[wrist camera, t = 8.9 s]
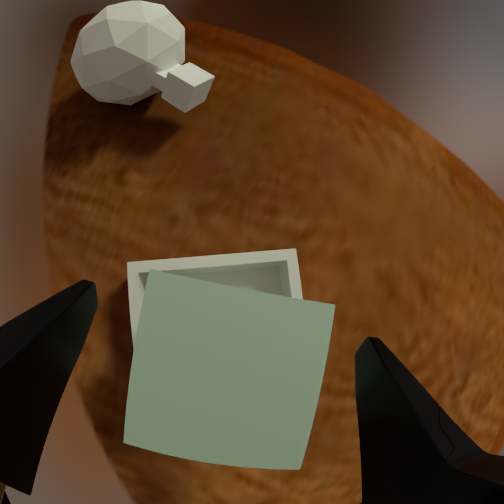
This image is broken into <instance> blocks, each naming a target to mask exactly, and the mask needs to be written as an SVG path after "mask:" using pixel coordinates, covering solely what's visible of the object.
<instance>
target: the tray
mask: <svg viewBox="0 0 504 504" xmlns="http://www.w3.org/2000/svg"><path fill="white" fill-rule="evenodd" d="M150 269H154V270H158V271H163V272H167V273H171V274H176V275H181V276H185V277H190V278H195V279H199V280H204V281H209V282H214V283H219V284H223V285H228V286H233V287H238V288H244V289H249V290H254V291H259V292H264V293H270V294H275V295H281V296H286V297H292V298H297V299H303V297H302V290H301V282H300V274H299V267H298V260H297V253H296V249H284V250H272V251H259V252H247V253H235V254H223V255H210V256H198V257H186V258H174V259H161V260H149V261H137V262H127V271H128V293H129V308H130V320H131V331H132V340H133V349H134V345H135V339H136V333H137V328H138V322H139V317H140V312H141V307H142V302H143V297H144V292H145V287H146V283H147V278H148V274H149V270H150Z"/></svg>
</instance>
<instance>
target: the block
mask: <svg viewBox="0 0 504 504" xmlns="http://www.w3.org/2000/svg"><path fill="white" fill-rule="evenodd" d="M334 311H335V305H333V304H327V303H321V302H315V301H309V300H303V299H297V298H292V297H286V296H281V295H275V294H270V293H264V292H259V291H254V290H249V289H244V288H238V287H233V286H228V285H223V284H219V283H214V282H209V281H204V280H199V279H195V278H190V277H185V276H181V275H176V274H171V273H167V272H163V271H158V270H154V269H150V270H149V274H148V278H147V283H146V287H145V292H144V297H143V302H142V307H141V312H140V317H139V322H138V328H137V333H136V339H135V345H134V351H133V358H132V365H131V372H130V379H129V387H128V396H127V405H126V415H125V427H124V442H123V443H126V444H129V445H132V446H136V447H139V448H142V449H146V450H150V451H154V452H158V453H162V454H166V455H170V456H175V457H179V458H184V459H190V460H195V461H201V462H207V463H214V464H221V465H229V466H238V467H249V468H264V469H300V468H301V465H302V461H303V458H304V454H305V451H306V447H307V443H308V440H309V436H310V432H311V428H312V424H313V420H314V416H315V412H316V407H317V403H318V398H319V394H320V389H321V385H322V380H323V375H324V370H325V364H326V359H327V354H328V348H329V342H330V336H331V330H332V324H333V317H334Z"/></svg>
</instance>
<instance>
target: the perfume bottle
mask: <svg viewBox="0 0 504 504" xmlns="http://www.w3.org/2000/svg"><path fill="white" fill-rule="evenodd" d="M184 61H185V28H184V27H183V25H182V24H181V23H180V22H179V21H178V20H177V19H176V18H175V17H174V16H173V15H172V14H171V13H170V12H169V10H168V9H167V8H166V7H165V6H164V5H161V4H155V3H150V2H145V1H127V2H123V3H118V4H114V5H110V6H107V7H106V8H104V9H103V10H102V11H101V12H100V13H99V14H97V15H96V16H95V17H94V18H93V19H92V20H91V21H90V22H89V23H88V24H87V25H86V26H84V27H83V28H82V29H81V30H80V33H79V36H78V39H77V42H76V45H75V48H74V51H73V55H72V58H71V65H72V68H73V70H74V73H75V75H76V78H77V80H78V82H79V84H80V85H81V87H82V88H83V89H84V90H85V91H86V92H88V93H89V94H90V95H91V96H92V97H94V98H95V99H96V100H97V101H101V102H109V103H117V104H125V105H132V104H134V103H136V102H138V101H140V100H143V99H145V98H147V97H149V96H151V95H153V94H156V93H158V92H160V91H163V92H162V95H161V98H162V99H164V100H166V101H167V102H169V103H170V104H172V105H174V106H175V107H177V108H178V109H180V110H181V111H183V112H185V113H186V112H188V111H189V110H191V109H192V108H194V107H196V106H197V105H199V104H200V103H202V102H204V101H205V99H206V97H207V94H208V92H209V89H210V87H211V85H212V82H213V80H214V78H215V76H213V75H211V74H210V73H208V72H206V71H204V70H203V69H201V68H199V67H197V66H195V65H194V64H192V63H190V62H189V63H187V64H184V65H182V64H183V62H184Z"/></svg>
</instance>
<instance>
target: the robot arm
mask: <svg viewBox="0 0 504 504" xmlns="http://www.w3.org/2000/svg"><path fill="white" fill-rule="evenodd" d="M97 307H98V297H97V291H96V285H95V283H94V282H91V281H88V280H81V281H79V282H77V283H76V284H74V285H72V286H70V287H68V288H66V289H64V290H63V291H61V292H59V293H57V294H55V295H54V296H52V297H50V298H48V299H46V300H45V301H43V302H41V303H39V304H38V305H36V306H34V307H32V308H31V309H29V310H27V311H25V312H24V313H22V314H20V315H19V316H17V317H15V318H14V319H12V320H10V321H8V322H7V323H5V324H3V325H2V327H0V504H10V501H9V499H8V497H7V495H6V492H5V487H6V485H7V486H9V487H12V488H14V489H16V490H18V491H21V492H23V493H25V494H28V495H31V492H32V488H33V484H34V479H35V476H36V472H37V468H38V465H39V461H40V457H41V454H42V451H43V447H44V444H45V441H46V438H47V435H48V432H49V429H50V426H51V423H52V421H53V418H54V415H55V412H56V410H57V407H58V405H59V402H60V399H61V397H62V394H63V392H64V389H65V387H66V385H67V382H68V380H69V377H70V375H71V373H72V370H73V368H74V366H75V364H76V361H77V359H78V357H79V355H80V353H81V350H82V348H83V346H84V343H85V340H86V338H87V335H88V332H89V329H90V326H91V323H92V321H93V318H94V315H95V313H96V310H97ZM355 392H356V405H357V415H358V426H359V439H360V453H361V473H362V498H363V499H362V504H504V456H499V455H493V454H489V453H487V452H485V451H483V450H482V449H481V448H480V447H479V446H478V445H477V444H476V443H475V442H474V441H473V440H472V439H471V438H470V437H469V436H468V435H467V434H466V433H464V432H463V431H462V430H461V428H460V427H459V426H458V425H457V424H456V423H455V422H454V421H453V420H452V419H451V418H450V417H449V416H448V415H447V413H446V412H445V411H444V410H443V409H442V408H441V407H440V406H439V404H438V403H437V402H436V401H435V400H434V399H433V397H432V396H431V395H430V394H429V393H428V392H427V391H426V389H425V388H424V387H423V386H422V385H421V384H420V383H419V382H418V380H417V379H416V378H415V377H414V376H413V375H412V374H411V373H410V372H409V370H408V369H407V368H406V367H405V366H404V365H403V364H402V363H401V362H400V361H399V359H398V358H397V357H396V356H395V355H394V354H393V353H392V352H391V351H390V350H389V349H388V347H387V346H386V345H385V344H384V343H383V342H382V341H381V340H380V339H379V338H377V337H367V338H366V339H365V340H364V342H363V343H362V345H361V346H360V347H359V349H358V350H357V352H356V354H355Z"/></svg>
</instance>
